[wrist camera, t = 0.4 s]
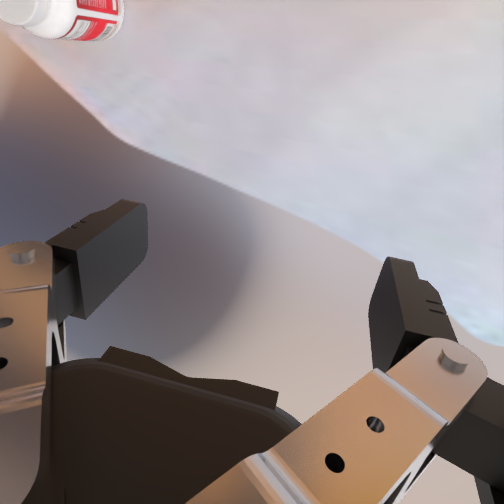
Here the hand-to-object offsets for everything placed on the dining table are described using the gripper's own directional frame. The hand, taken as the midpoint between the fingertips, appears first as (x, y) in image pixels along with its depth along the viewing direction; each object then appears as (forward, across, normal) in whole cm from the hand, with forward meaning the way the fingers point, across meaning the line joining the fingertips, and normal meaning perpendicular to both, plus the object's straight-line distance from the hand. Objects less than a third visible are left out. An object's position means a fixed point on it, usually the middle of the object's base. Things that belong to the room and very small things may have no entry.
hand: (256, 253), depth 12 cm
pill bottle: (+28, +23, -7) cm, 37 cm away
